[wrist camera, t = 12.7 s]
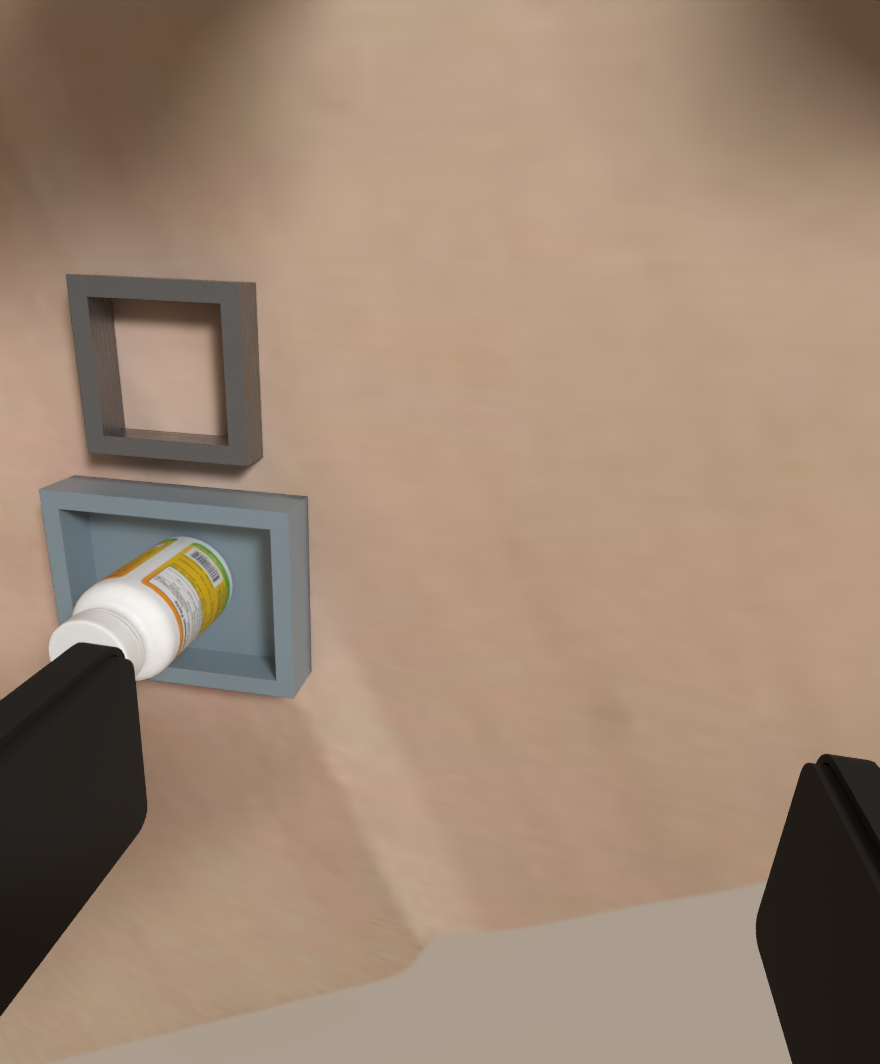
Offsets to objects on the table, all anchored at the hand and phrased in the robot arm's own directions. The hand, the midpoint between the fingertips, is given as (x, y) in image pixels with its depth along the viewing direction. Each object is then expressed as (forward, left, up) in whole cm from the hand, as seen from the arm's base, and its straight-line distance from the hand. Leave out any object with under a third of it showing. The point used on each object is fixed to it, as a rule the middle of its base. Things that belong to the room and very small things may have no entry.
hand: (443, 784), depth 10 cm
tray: (+11, -19, -28) cm, 35 cm away
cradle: (-1, -19, -28) cm, 33 cm away
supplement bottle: (+10, -19, -27) cm, 35 cm away
